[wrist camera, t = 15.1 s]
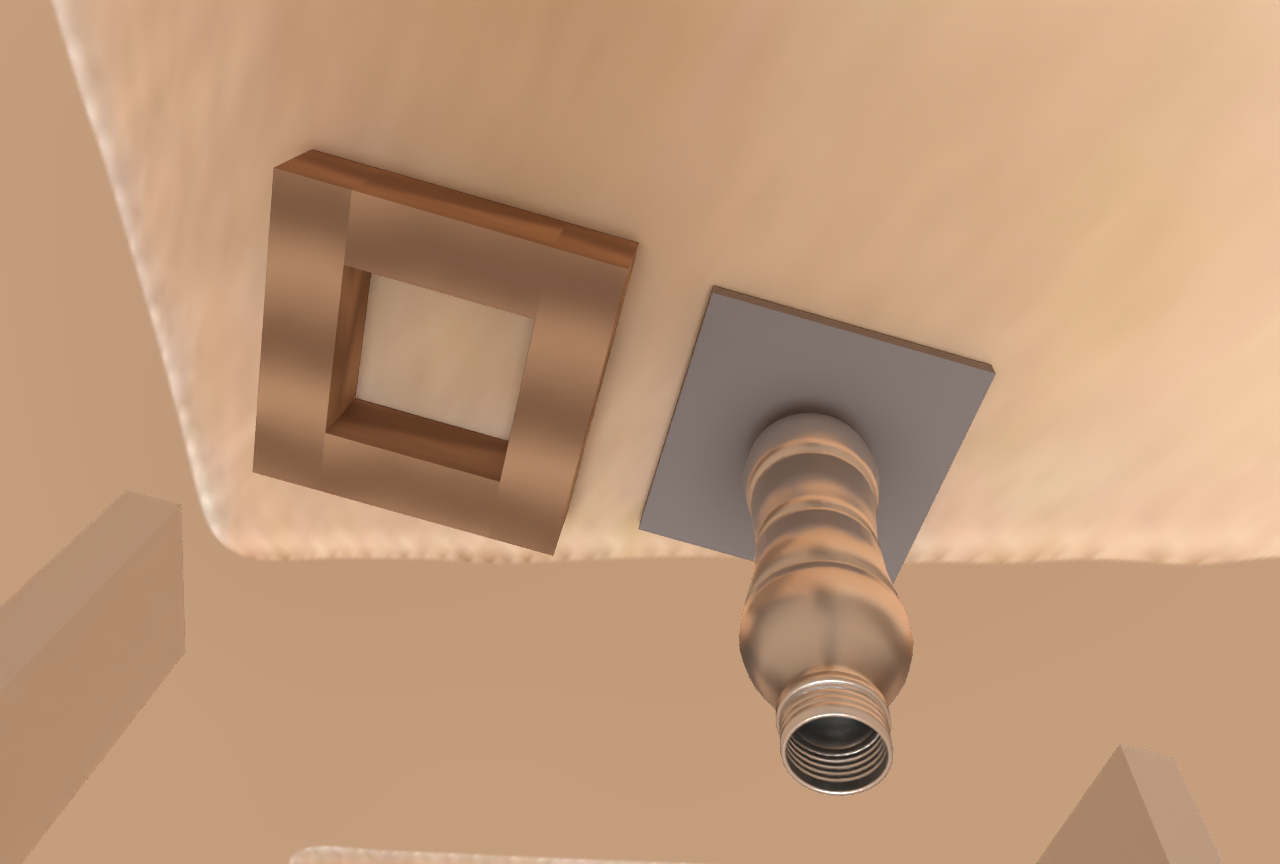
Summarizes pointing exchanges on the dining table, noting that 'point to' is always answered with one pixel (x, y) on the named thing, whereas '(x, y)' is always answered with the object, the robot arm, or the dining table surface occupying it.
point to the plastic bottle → (822, 604)
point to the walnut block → (451, 264)
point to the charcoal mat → (807, 383)
